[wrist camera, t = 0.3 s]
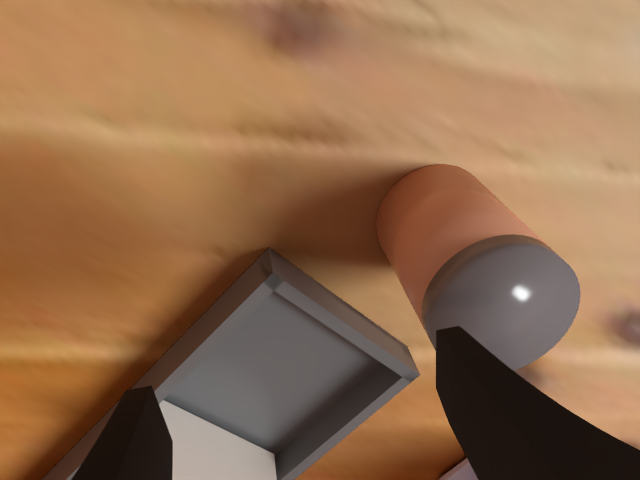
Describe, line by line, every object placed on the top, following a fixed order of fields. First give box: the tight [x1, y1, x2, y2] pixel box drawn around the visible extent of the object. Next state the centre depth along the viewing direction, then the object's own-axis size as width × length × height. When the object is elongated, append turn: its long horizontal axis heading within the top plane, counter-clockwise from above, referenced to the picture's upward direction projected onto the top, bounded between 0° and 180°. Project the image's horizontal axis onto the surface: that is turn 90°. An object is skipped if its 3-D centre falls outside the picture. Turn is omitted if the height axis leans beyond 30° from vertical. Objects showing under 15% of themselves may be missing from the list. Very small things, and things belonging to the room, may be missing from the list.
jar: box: [376, 164, 580, 370], centre depth 20 cm, size 5×5×7 cm
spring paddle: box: [159, 400, 277, 480], centre depth 24 cm, size 7×1×4 cm, turn 46°
